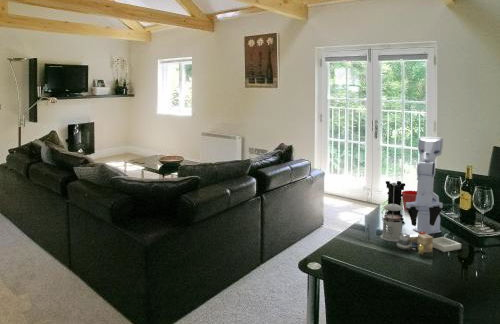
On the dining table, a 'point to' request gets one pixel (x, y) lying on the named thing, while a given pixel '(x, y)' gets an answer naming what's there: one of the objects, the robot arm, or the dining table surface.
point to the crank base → (410, 247)
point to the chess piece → (395, 197)
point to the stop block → (425, 242)
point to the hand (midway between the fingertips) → (422, 225)
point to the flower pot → (408, 197)
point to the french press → (392, 222)
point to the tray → (445, 244)
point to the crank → (409, 238)
